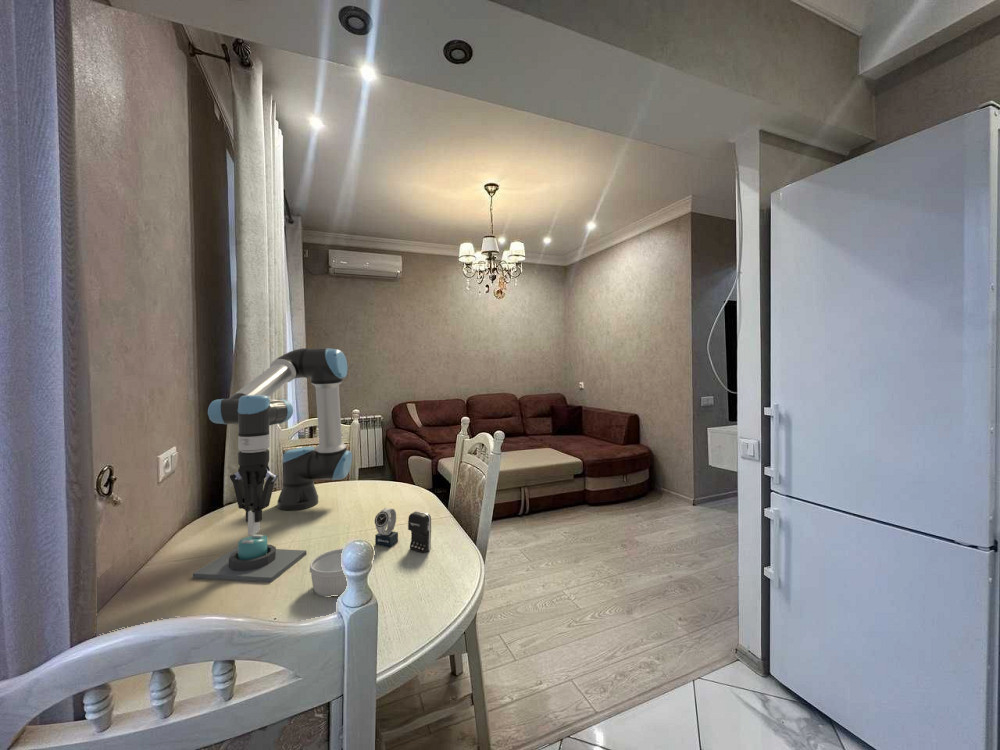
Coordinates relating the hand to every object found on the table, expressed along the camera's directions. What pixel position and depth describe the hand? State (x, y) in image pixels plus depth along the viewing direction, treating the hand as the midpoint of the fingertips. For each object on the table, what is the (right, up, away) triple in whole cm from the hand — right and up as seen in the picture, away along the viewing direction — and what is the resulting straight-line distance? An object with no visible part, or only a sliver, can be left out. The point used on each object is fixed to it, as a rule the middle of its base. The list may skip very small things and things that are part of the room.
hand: (253, 533), depth 112 cm
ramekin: (+28, -10, -11) cm, 32 cm away
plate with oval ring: (0, -9, 0) cm, 9 cm away
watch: (+33, -10, +15) cm, 38 cm away
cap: (0, -8, 0) cm, 8 cm away
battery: (+45, -10, +10) cm, 47 cm away
